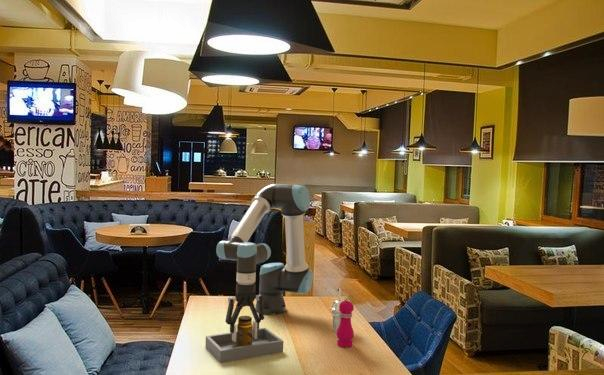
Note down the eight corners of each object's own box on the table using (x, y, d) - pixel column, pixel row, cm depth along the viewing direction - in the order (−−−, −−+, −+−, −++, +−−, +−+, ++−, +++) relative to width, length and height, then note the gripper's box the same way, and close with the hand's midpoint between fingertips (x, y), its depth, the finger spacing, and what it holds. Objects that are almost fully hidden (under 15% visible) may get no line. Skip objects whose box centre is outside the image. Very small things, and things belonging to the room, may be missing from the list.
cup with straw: (351, 330, 233) (353, 286, 232) (340, 335, 226) (342, 290, 225) (336, 325, 239) (338, 282, 238) (324, 330, 232) (326, 286, 231)
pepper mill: (357, 345, 216) (359, 297, 214) (346, 349, 210) (348, 300, 209) (343, 340, 220) (345, 293, 219) (332, 344, 215) (334, 297, 214)
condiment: (256, 348, 205) (256, 318, 204) (236, 352, 200) (237, 321, 200) (247, 342, 211) (248, 313, 210) (228, 346, 206) (229, 316, 206)
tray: (265, 338, 220) (265, 327, 220) (283, 352, 205) (283, 341, 205) (205, 347, 207) (205, 336, 207) (220, 362, 192) (220, 350, 192)
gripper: (224, 287, 196) (222, 346, 198) (274, 282, 206) (272, 338, 208) (217, 282, 203) (215, 339, 204) (266, 278, 213) (264, 332, 214)
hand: (244, 339), depth 206 cm, fingers open, 8 cm apart
